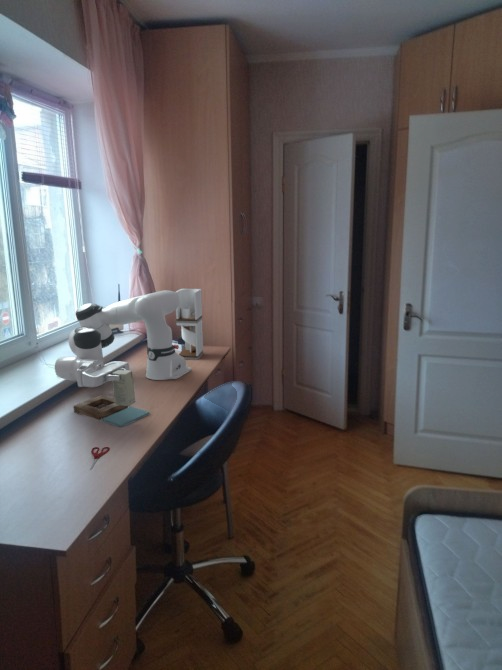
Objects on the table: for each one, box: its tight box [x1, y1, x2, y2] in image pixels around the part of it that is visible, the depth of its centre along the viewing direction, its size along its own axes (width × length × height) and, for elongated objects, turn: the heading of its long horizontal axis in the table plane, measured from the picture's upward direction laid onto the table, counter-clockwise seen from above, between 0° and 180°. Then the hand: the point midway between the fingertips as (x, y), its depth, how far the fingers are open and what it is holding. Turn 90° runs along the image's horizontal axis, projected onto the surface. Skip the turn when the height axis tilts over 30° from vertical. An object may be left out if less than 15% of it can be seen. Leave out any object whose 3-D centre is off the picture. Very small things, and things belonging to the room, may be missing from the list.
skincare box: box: [112, 370, 137, 407], centre depth 176 cm, size 6×4×12 cm
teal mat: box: [101, 406, 151, 428], centre depth 179 cm, size 14×10×1 cm
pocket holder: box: [73, 394, 129, 421], centre depth 186 cm, size 14×14×2 cm
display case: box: [174, 288, 204, 361], centre depth 252 cm, size 11×11×35 cm
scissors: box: [89, 446, 111, 470], centre depth 149 cm, size 5×14×1 cm, turn 4°
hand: (124, 375), depth 174 cm, fingers closed on skincare box, 4 cm apart
